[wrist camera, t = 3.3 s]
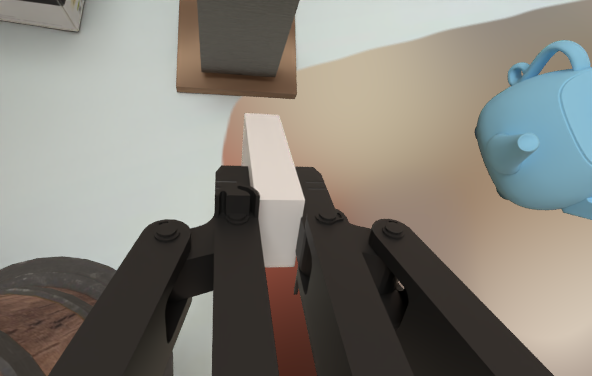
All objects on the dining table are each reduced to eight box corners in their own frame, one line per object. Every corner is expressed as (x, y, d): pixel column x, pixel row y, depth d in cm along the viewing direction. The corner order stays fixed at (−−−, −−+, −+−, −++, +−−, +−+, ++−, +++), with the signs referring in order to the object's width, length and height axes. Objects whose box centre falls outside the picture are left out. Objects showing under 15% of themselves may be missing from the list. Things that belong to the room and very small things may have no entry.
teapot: (551, 261, 37) (691, 255, 26) (430, 182, 36) (522, 142, 26) (598, 132, 42) (734, 82, 31) (491, 59, 41) (592, -19, 30)
